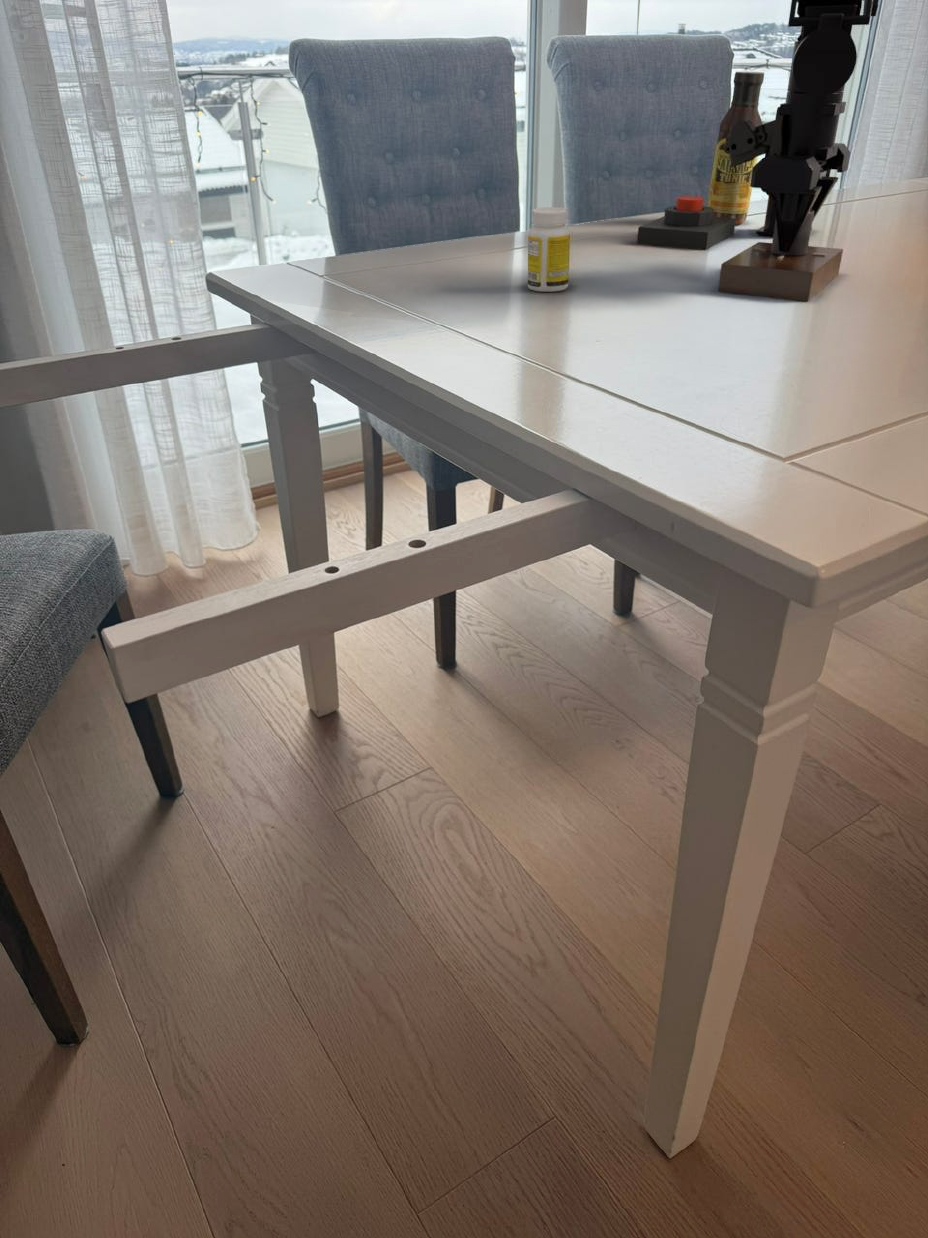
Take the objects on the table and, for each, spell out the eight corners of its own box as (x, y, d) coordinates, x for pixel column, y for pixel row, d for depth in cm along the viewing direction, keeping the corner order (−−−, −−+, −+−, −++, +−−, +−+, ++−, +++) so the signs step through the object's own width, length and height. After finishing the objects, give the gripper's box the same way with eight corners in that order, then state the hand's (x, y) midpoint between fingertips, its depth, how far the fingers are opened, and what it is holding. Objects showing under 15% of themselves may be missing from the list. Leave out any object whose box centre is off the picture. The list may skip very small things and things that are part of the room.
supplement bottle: (572, 284, 106) (575, 206, 102) (562, 293, 102) (566, 213, 98) (533, 282, 107) (534, 205, 103) (522, 291, 104) (523, 212, 99)
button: (681, 208, 128) (682, 195, 127) (705, 210, 126) (707, 196, 125) (672, 212, 125) (673, 198, 124) (697, 214, 124) (698, 200, 123)
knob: (810, 250, 105) (818, 205, 102) (801, 257, 102) (809, 211, 99) (776, 247, 106) (783, 203, 104) (766, 253, 104) (773, 208, 101)
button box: (668, 229, 134) (670, 200, 132) (733, 234, 130) (738, 204, 128) (636, 243, 126) (639, 212, 124) (706, 249, 121) (709, 217, 119)
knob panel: (754, 267, 112) (758, 240, 110) (838, 275, 107) (843, 247, 105) (717, 291, 102) (721, 262, 100) (808, 301, 97) (813, 270, 95)
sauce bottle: (704, 225, 136) (722, 72, 125) (705, 218, 141) (722, 70, 130) (749, 226, 135) (771, 71, 124) (748, 219, 140) (769, 70, 129)
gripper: (764, 87, 106) (744, 229, 114) (712, 96, 92) (694, 256, 101) (863, 87, 101) (835, 236, 109) (824, 97, 87) (795, 265, 96)
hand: (789, 247), depth 104 cm, fingers closed on knob, 4 cm apart
